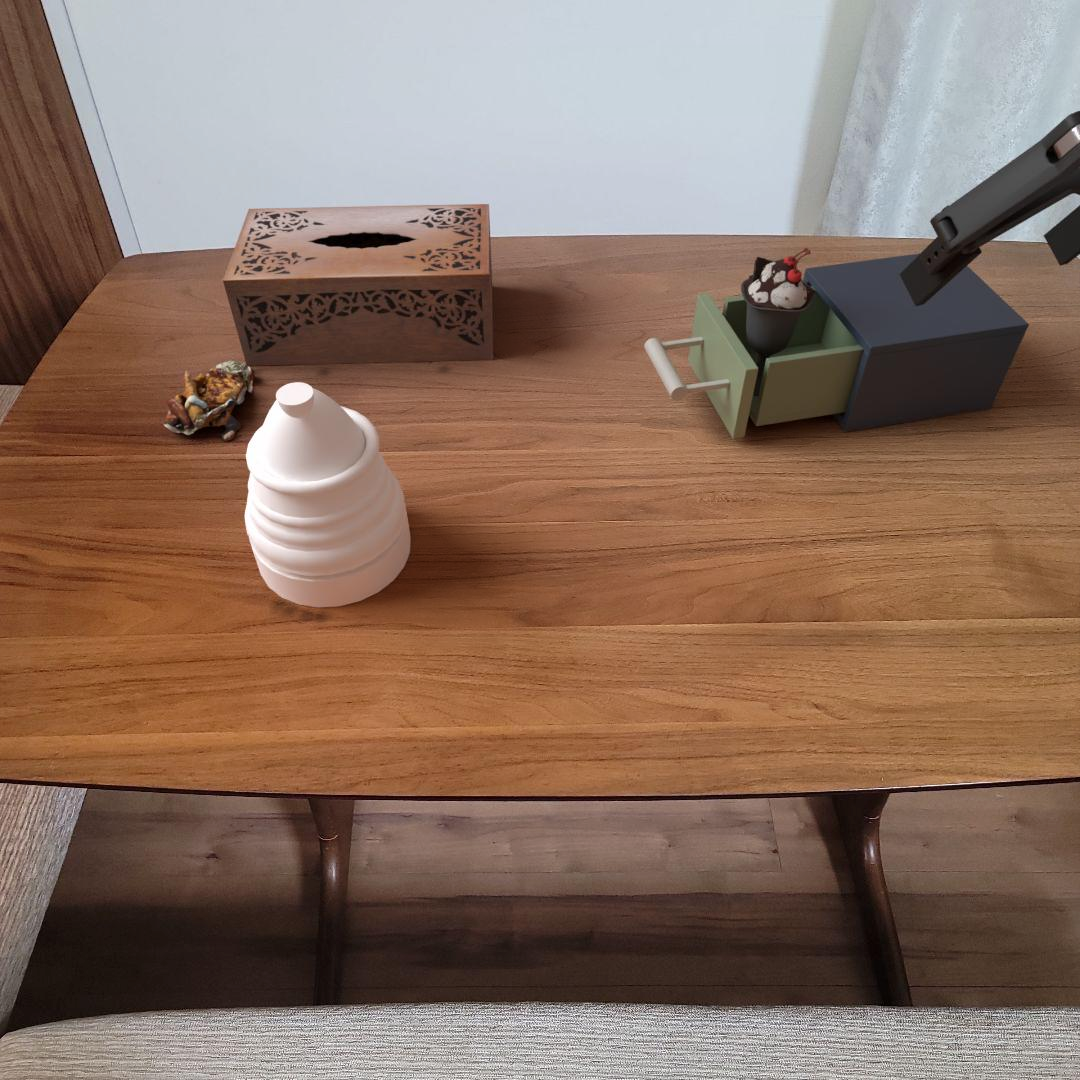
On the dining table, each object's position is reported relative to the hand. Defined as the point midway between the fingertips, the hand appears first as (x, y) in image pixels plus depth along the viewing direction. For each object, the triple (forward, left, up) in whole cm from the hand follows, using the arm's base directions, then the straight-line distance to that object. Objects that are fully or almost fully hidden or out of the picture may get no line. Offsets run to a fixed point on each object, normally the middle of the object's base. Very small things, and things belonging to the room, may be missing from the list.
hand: (985, 269), depth 69 cm
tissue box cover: (+44, -37, -22) cm, 61 cm away
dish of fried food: (+61, -27, -22) cm, 70 cm away
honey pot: (+51, -4, -22) cm, 56 cm away
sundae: (+8, -15, -20) cm, 26 cm away
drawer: (+9, -15, -21) cm, 27 cm away
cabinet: (-6, -15, -22) cm, 27 cm away
